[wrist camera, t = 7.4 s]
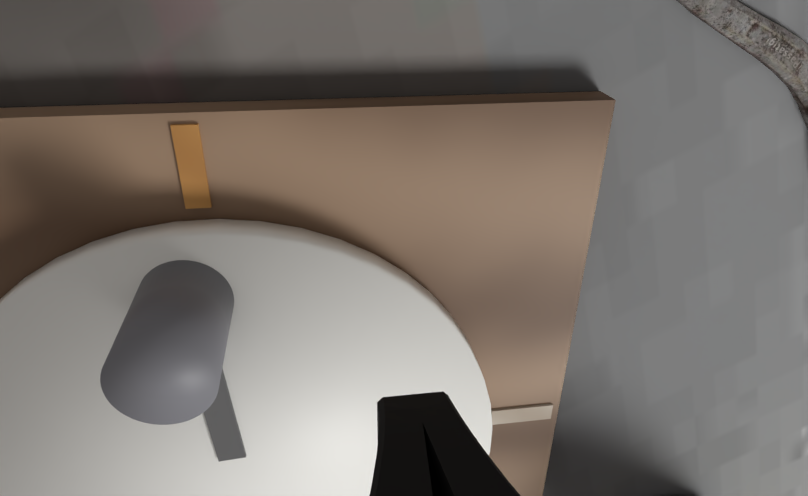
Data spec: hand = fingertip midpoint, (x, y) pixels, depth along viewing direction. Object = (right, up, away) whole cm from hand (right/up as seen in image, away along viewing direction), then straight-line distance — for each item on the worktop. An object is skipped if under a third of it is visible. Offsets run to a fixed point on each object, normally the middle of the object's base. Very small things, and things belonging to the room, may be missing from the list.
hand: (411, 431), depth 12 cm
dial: (-6, -3, +9) cm, 11 cm away
